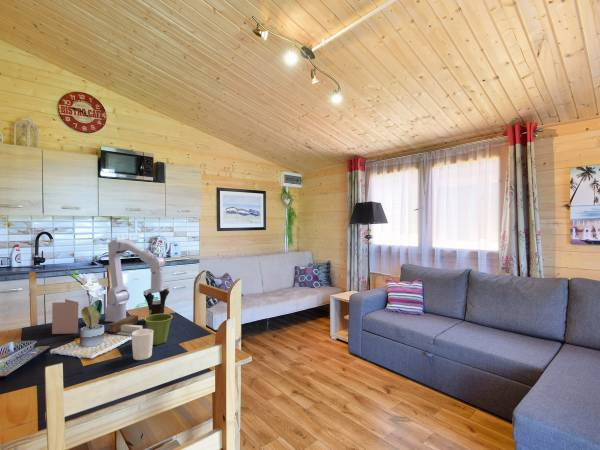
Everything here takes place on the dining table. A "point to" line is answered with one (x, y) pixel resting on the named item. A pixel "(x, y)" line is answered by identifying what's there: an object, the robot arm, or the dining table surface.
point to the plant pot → (159, 326)
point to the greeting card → (65, 317)
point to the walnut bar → (128, 320)
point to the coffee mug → (156, 308)
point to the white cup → (142, 344)
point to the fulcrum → (129, 329)
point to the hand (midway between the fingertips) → (156, 306)
